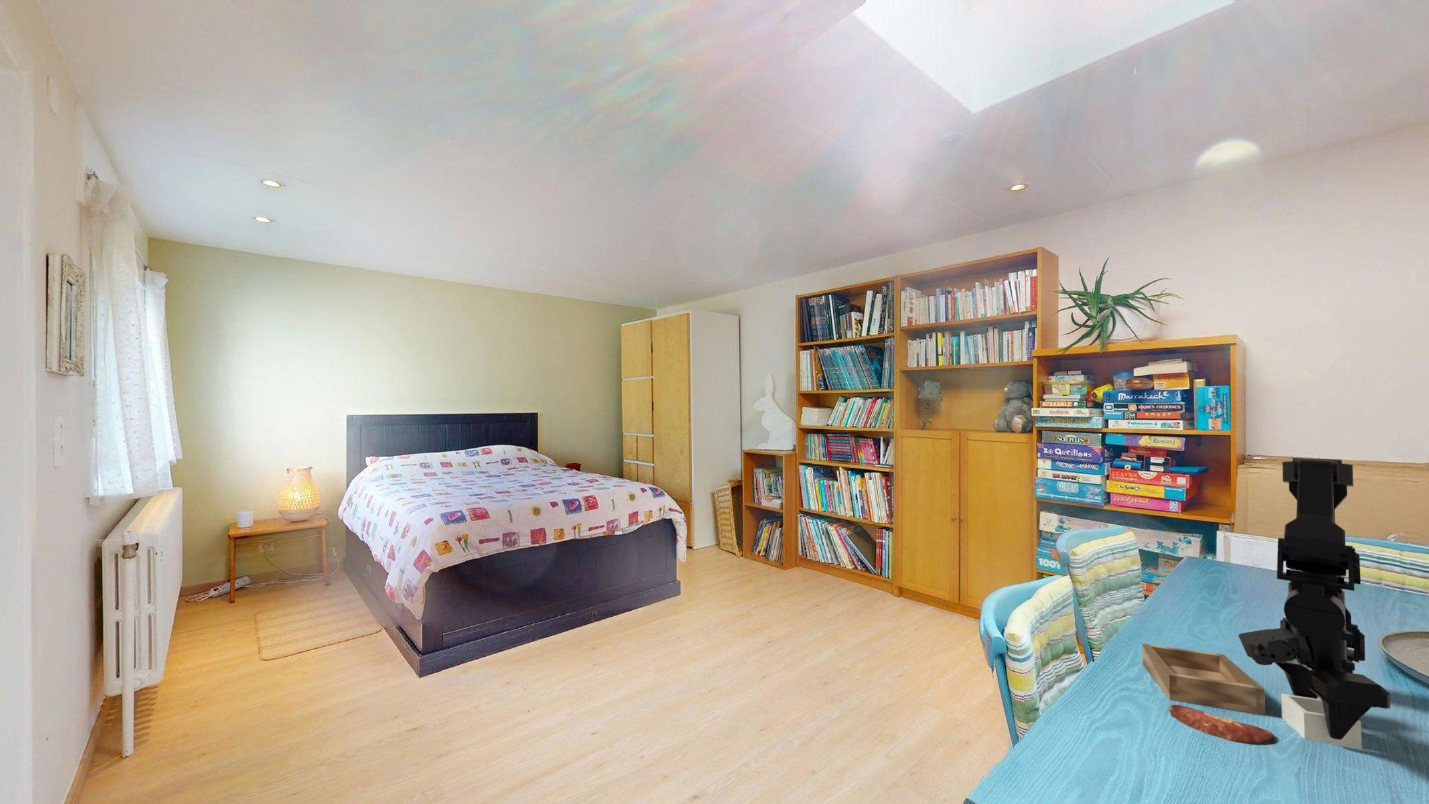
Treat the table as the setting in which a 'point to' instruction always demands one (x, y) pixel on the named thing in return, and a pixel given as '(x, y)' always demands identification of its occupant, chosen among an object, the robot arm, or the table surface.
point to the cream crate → (1315, 721)
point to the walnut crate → (1203, 679)
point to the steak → (1221, 726)
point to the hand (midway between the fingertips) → (1319, 725)
